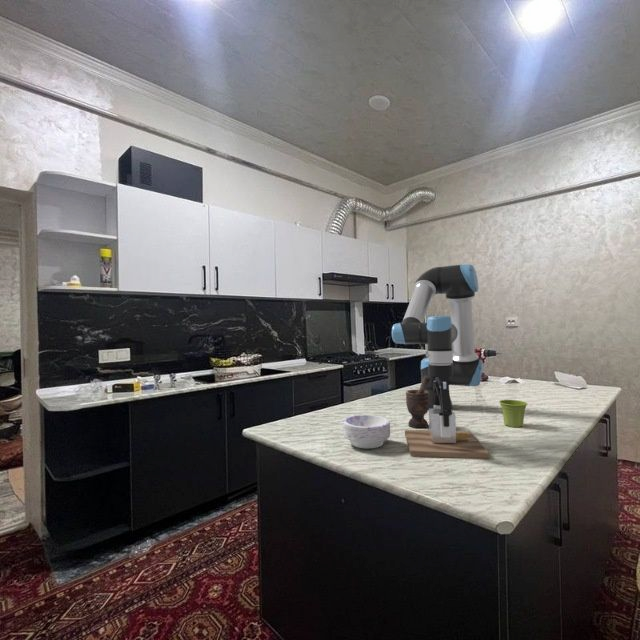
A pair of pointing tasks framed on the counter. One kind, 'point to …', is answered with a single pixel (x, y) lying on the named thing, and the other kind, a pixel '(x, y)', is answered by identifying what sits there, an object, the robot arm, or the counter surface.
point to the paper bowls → (366, 430)
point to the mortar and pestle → (418, 404)
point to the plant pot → (513, 412)
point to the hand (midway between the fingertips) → (442, 430)
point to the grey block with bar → (436, 428)
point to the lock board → (444, 446)
